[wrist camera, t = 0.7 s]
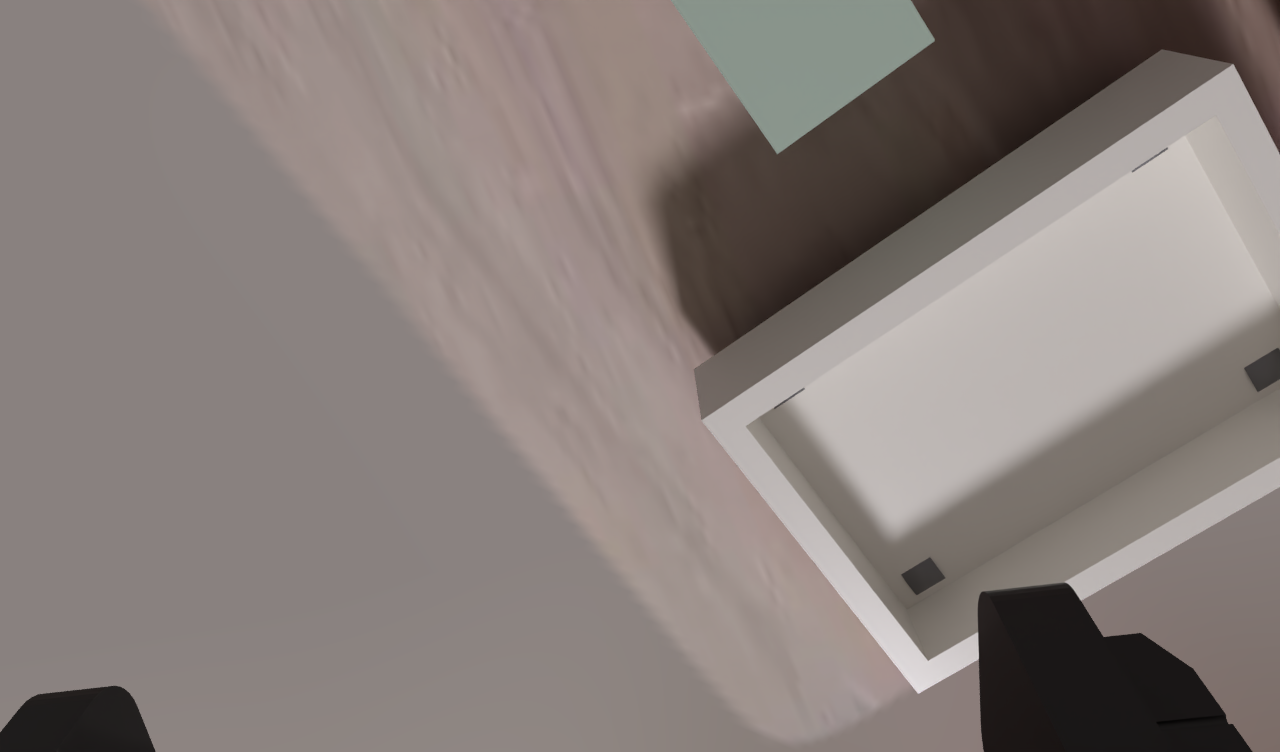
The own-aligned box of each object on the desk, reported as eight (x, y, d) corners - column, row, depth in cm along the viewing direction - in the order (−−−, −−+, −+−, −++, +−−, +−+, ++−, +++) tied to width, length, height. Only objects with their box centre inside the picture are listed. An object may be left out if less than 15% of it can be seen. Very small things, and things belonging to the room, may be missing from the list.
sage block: (791, -115, 27) (832, -128, 22) (876, 20, 28) (935, 40, 23) (662, -14, 28) (669, -2, 22) (749, 113, 29) (777, 154, 24)
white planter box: (1142, 45, 28) (1233, 64, 24) (1307, 347, 32) (1412, 411, 27) (691, 355, 32) (701, 420, 27) (883, 601, 35) (918, 693, 31)
